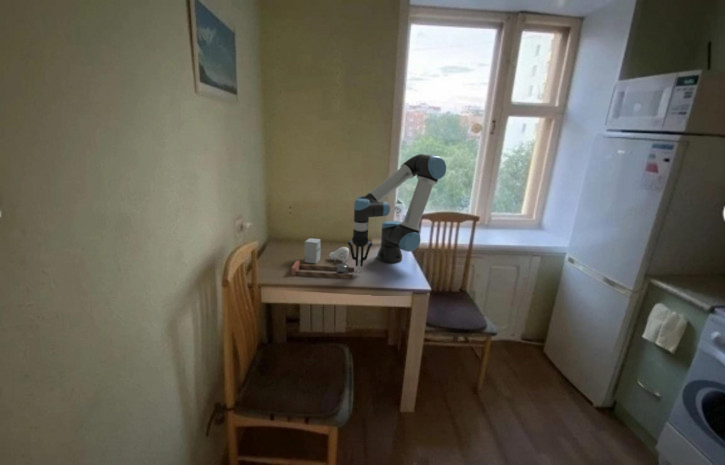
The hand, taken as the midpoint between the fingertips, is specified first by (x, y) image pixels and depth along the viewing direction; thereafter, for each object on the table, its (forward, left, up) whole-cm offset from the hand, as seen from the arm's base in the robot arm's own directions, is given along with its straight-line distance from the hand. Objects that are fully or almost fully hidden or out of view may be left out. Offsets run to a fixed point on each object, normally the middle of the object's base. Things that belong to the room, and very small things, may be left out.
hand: (358, 271), depth 180 cm
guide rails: (+18, 0, -2) cm, 18 cm away
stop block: (+34, 0, -2) cm, 34 cm away
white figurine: (+13, -19, -2) cm, 23 cm away
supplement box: (+28, -16, -2) cm, 32 cm away
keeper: (+9, 0, -2) cm, 9 cm away
